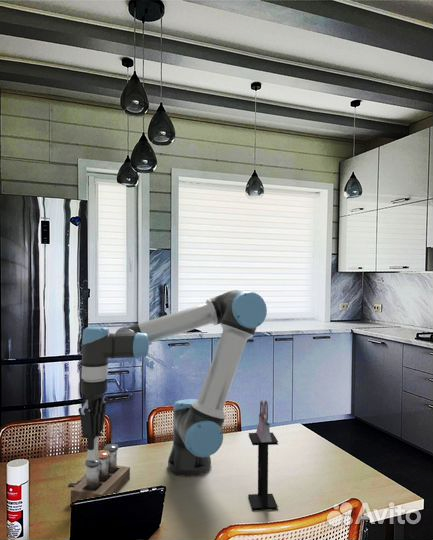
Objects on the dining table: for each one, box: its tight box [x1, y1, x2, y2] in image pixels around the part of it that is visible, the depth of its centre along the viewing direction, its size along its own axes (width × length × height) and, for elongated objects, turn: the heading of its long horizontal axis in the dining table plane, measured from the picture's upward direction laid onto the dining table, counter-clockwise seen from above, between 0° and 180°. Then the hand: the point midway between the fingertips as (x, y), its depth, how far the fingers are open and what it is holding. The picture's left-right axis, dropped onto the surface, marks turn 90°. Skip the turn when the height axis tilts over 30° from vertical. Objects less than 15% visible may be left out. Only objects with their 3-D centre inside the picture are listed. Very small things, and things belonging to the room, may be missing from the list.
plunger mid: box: [98, 450, 110, 482], centre depth 127 cm, size 4×4×8 cm
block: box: [70, 465, 131, 504], centre depth 127 cm, size 10×18×4 cm, turn 166°
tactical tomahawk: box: [67, 472, 87, 488], centre depth 139 cm, size 21×7×1 cm, turn 165°
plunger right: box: [103, 443, 119, 474], centre depth 132 cm, size 4×4×8 cm
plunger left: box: [84, 458, 101, 491], centre depth 122 cm, size 4×4×8 cm
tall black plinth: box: [247, 400, 279, 512], centre depth 121 cm, size 10×8×30 cm
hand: (92, 459), depth 122 cm, fingers closed
